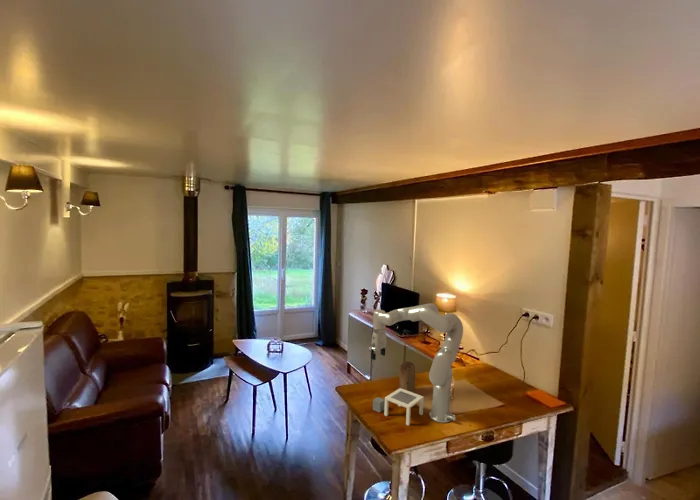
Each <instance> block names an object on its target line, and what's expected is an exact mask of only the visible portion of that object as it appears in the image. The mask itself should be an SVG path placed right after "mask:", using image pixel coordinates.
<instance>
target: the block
mask: <svg viewBox="0 0 700 500" xmlns="http://www.w3.org/2000/svg"><path fill="white" fill-rule="evenodd" d="M398 377H399V379H398V382H399V383H398V389H399V388H401V389H404V390H407V391H409V392H412V393H415V391H416V389H415V388H416V366H415V364H414V363H413V362H411V361H402V362H401V363H400V365H399V371H398Z"/></svg>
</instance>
